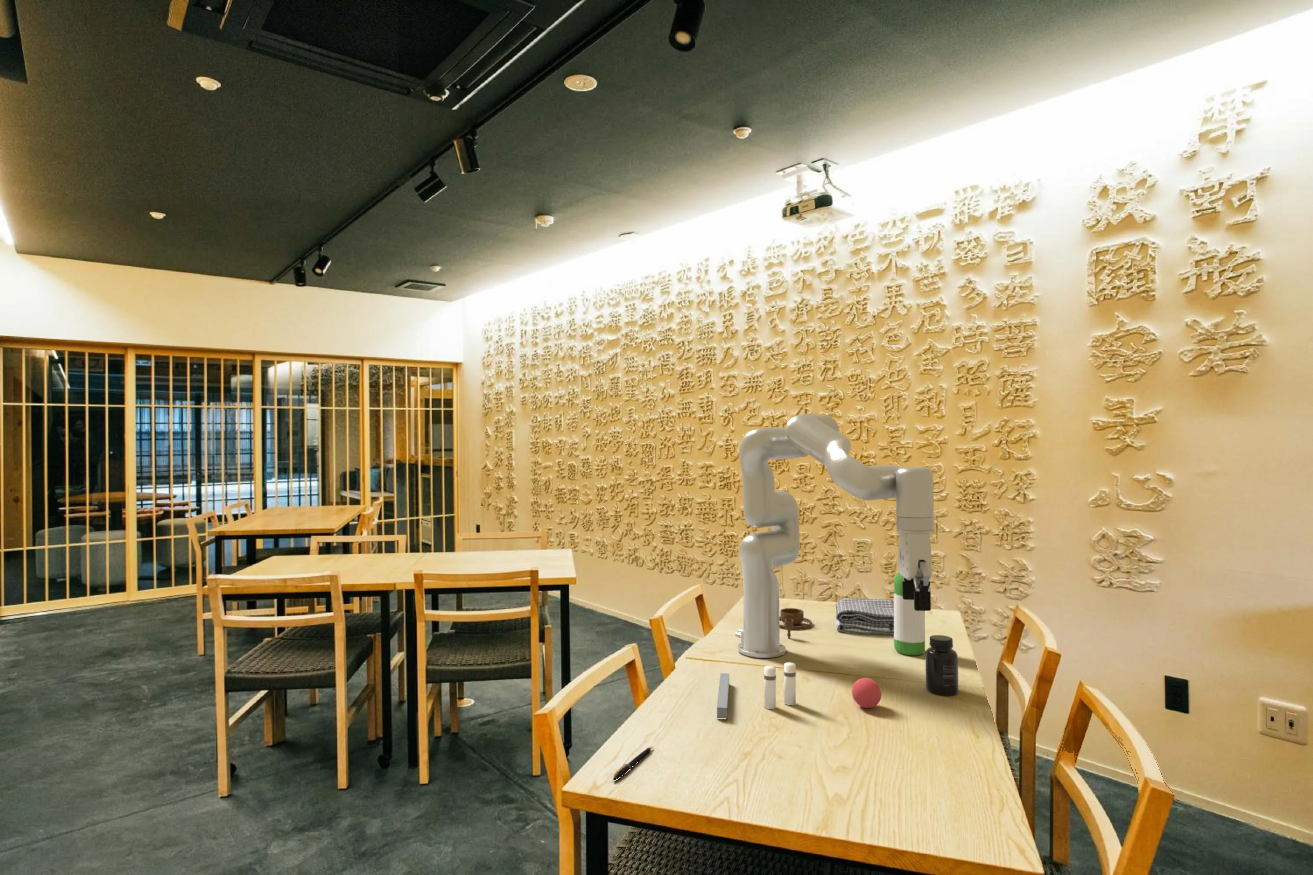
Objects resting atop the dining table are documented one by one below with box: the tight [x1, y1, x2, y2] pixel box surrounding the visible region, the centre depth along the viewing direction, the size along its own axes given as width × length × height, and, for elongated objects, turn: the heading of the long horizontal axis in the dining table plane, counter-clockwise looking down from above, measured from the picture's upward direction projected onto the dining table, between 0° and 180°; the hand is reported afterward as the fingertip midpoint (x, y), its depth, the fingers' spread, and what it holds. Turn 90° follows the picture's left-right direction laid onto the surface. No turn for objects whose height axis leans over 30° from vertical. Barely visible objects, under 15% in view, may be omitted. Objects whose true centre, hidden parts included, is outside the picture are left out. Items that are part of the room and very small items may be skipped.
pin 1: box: [763, 665, 777, 710], centre depth 146 cm, size 2×2×8 cm
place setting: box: [779, 607, 813, 640], centre depth 206 cm, size 18×20×6 cm
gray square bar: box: [716, 672, 730, 719], centre depth 149 cm, size 20×2×2 cm, turn 173°
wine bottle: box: [893, 571, 926, 656], centre depth 182 cm, size 8×8×30 cm
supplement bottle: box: [924, 634, 959, 697], centre depth 154 cm, size 7×7×12 cm
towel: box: [835, 597, 894, 636], centre depth 205 cm, size 15×18×8 cm
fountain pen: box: [612, 745, 654, 781], centre depth 121 cm, size 14×1×2 cm, turn 152°
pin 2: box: [783, 662, 797, 706], centre depth 148 cm, size 2×2×8 cm
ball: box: [851, 677, 882, 709], centre depth 146 cm, size 6×6×6 cm
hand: (916, 604), depth 146 cm, fingers open, 9 cm apart
